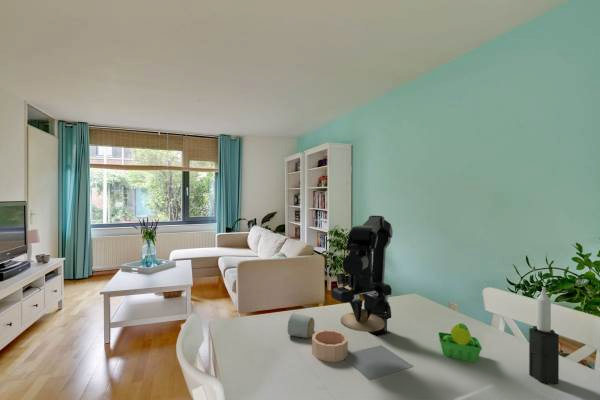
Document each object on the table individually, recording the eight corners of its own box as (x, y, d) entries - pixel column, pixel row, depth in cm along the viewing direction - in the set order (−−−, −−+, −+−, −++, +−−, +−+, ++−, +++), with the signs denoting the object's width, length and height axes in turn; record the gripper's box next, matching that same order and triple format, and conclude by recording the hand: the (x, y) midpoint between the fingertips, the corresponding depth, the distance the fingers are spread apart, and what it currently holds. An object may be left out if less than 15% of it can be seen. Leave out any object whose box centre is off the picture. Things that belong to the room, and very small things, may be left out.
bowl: (335, 342, 101) (335, 327, 101) (354, 358, 91) (354, 341, 91) (306, 349, 96) (306, 333, 96) (323, 366, 86) (323, 349, 86)
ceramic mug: (309, 342, 101) (309, 319, 101) (286, 338, 103) (287, 316, 103) (317, 330, 111) (317, 309, 111) (296, 327, 113) (297, 306, 113)
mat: (381, 346, 98) (381, 344, 98) (413, 367, 86) (413, 366, 86) (340, 356, 92) (340, 355, 92) (369, 381, 79) (369, 379, 79)
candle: (526, 373, 84) (527, 284, 84) (543, 372, 84) (544, 284, 84) (543, 384, 78) (543, 289, 79) (561, 383, 79) (561, 289, 79)
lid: (365, 311, 99) (365, 300, 99) (394, 326, 87) (394, 314, 87) (332, 318, 93) (332, 306, 93) (358, 335, 81) (358, 321, 81)
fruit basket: (476, 353, 95) (476, 317, 95) (483, 367, 86) (483, 328, 87) (437, 347, 99) (437, 312, 99) (440, 360, 90) (440, 323, 90)
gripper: (369, 261, 102) (368, 306, 101) (322, 265, 93) (321, 315, 93) (393, 267, 92) (392, 318, 92) (343, 273, 83) (342, 329, 83)
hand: (362, 319), depth 90 cm, fingers closed on lid, 3 cm apart
